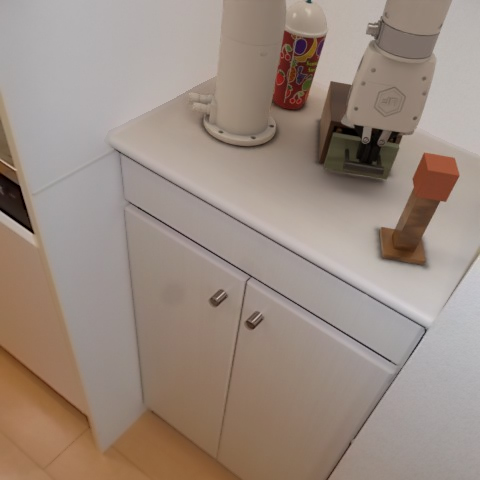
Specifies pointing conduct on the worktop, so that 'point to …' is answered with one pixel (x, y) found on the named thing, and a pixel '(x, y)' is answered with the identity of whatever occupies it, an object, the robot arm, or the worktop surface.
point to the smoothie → (299, 53)
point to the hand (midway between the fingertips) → (364, 163)
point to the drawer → (345, 151)
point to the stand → (409, 231)
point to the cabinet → (336, 116)
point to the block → (435, 177)
